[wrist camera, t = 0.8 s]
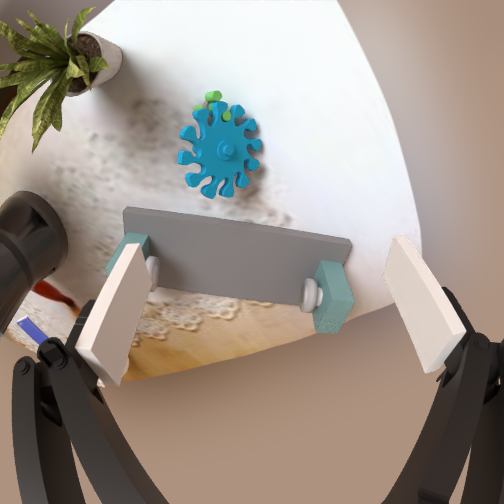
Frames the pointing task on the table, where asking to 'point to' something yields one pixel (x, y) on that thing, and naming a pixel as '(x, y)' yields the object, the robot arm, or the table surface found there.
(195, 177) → the gear
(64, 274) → the table surface
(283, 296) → the shaft stand
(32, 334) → the hard drive
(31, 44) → the house plant
